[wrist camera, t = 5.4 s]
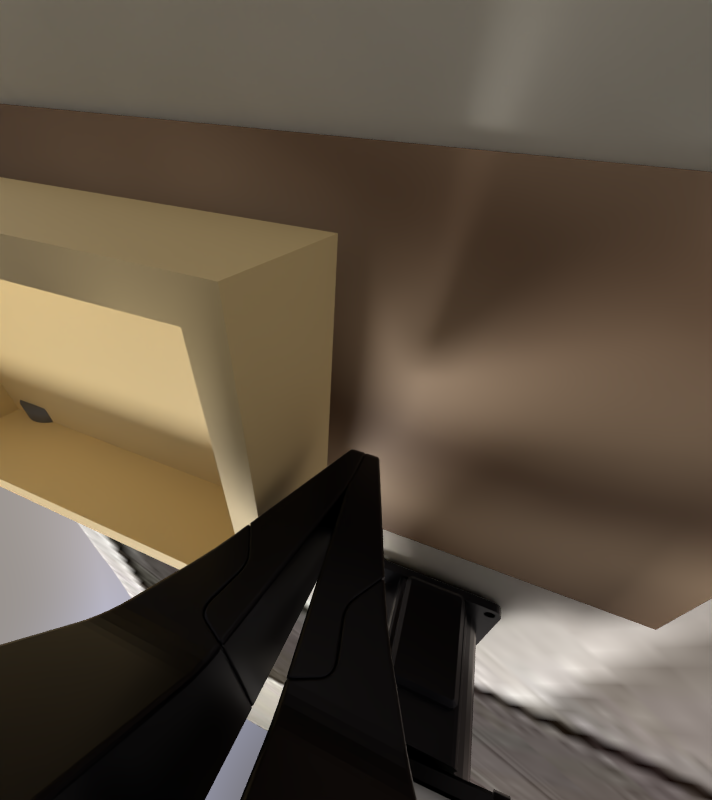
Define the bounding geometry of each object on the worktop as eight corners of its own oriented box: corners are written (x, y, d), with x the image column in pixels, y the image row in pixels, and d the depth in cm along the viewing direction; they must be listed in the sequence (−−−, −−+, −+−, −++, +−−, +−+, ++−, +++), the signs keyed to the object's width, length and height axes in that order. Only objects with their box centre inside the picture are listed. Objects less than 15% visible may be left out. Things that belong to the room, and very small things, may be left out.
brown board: (652, 621, 13) (655, 629, 13) (58, 404, 20) (53, 407, 20) (1316, 231, 4) (1362, 233, 4) (-130, 91, 11) (-143, 89, 11)
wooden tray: (334, 492, 14) (274, 614, 10) (59, 394, 18) (-63, 457, 14) (354, 226, 8) (217, 281, 4) (-80, 157, 12) (-376, 150, 8)
